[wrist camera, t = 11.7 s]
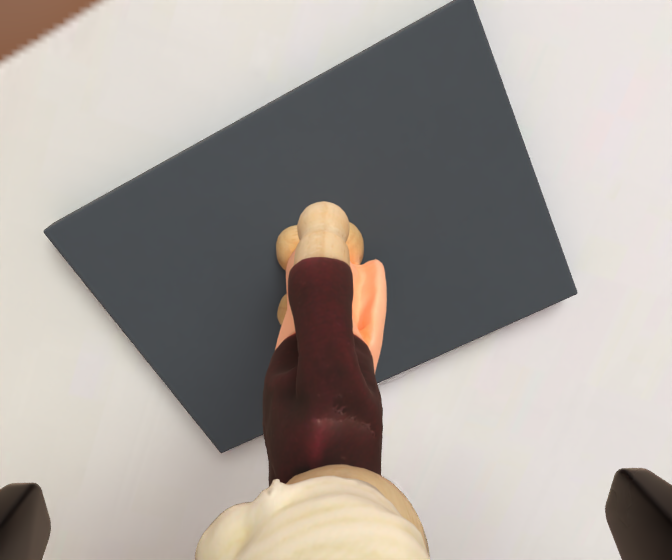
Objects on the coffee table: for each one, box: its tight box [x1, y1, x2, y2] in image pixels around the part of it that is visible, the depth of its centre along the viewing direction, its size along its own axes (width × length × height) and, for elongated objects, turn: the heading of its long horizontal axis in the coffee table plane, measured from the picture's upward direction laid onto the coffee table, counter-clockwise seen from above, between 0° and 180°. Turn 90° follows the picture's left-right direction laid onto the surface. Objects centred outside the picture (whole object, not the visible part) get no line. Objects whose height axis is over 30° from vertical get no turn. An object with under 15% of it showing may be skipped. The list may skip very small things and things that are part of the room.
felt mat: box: [44, 0, 577, 453], centre depth 17 cm, size 14×10×1 cm
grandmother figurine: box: [195, 201, 430, 560], centre depth 11 cm, size 8×4×13 cm, turn 7°
